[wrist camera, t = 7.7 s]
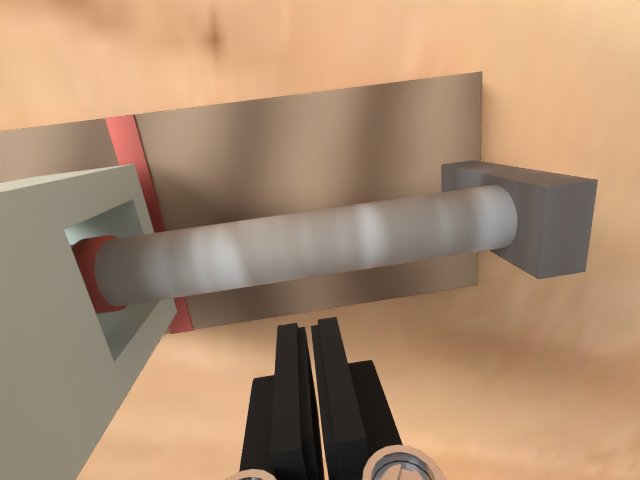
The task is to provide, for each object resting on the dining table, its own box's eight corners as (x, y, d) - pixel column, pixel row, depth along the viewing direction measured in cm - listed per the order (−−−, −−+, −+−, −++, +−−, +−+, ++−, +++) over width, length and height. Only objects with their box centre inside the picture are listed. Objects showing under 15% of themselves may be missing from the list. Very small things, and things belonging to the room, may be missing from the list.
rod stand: (469, 75, 17) (632, 25, 9) (466, 276, 20) (581, 370, 12) (-12, 135, 16) (-319, 139, 8) (72, 337, 19) (-81, 484, 11)
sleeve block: (134, 163, 14) (-207, 236, 4) (177, 311, 16) (15, 579, 7) (34, 176, 14) (-554, 283, 4) (91, 325, 16) (-206, 620, 6)
